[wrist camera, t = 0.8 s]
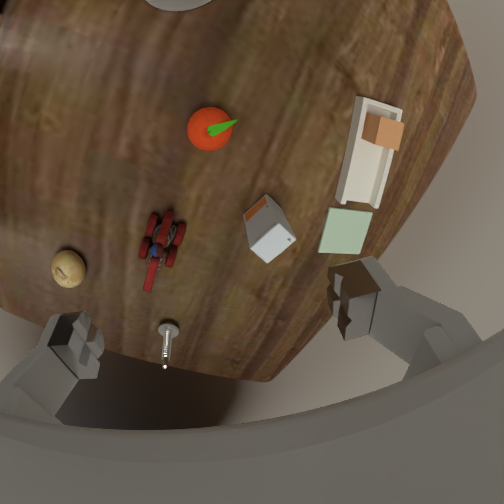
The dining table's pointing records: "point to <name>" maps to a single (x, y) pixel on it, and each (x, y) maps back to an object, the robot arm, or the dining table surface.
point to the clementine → (209, 128)
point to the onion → (68, 269)
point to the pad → (344, 230)
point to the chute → (365, 157)
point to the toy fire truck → (160, 245)
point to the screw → (167, 340)
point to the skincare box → (267, 229)
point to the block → (382, 131)
